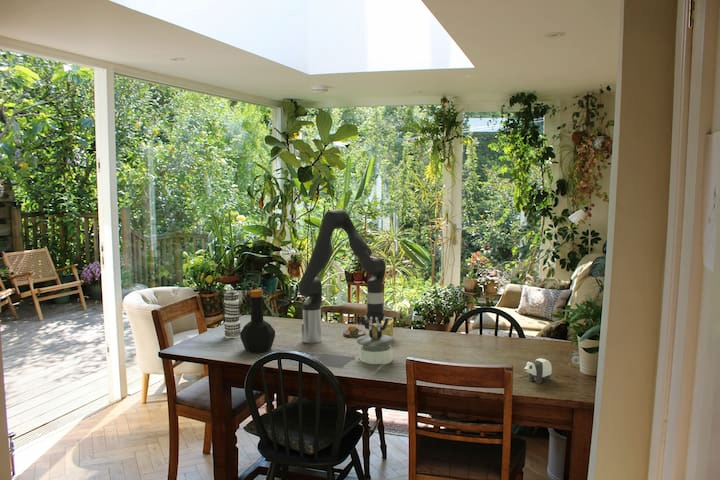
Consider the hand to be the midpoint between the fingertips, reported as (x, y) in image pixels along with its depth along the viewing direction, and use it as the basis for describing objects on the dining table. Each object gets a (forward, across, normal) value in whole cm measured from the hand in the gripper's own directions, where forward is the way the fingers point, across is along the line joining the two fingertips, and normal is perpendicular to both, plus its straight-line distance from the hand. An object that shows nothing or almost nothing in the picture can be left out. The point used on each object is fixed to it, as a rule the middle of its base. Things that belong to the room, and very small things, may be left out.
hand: (375, 338), depth 263 cm
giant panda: (+11, +72, -4) cm, 73 cm away
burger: (+11, -26, +36) cm, 46 cm away
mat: (+10, -18, -9) cm, 23 cm away
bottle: (+11, -61, -4) cm, 62 cm away
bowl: (+10, 0, 0) cm, 10 cm away
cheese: (+11, -8, +30) cm, 33 cm away
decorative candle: (+10, -87, +12) cm, 88 cm away
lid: (+2, 0, 0) cm, 2 cm away
